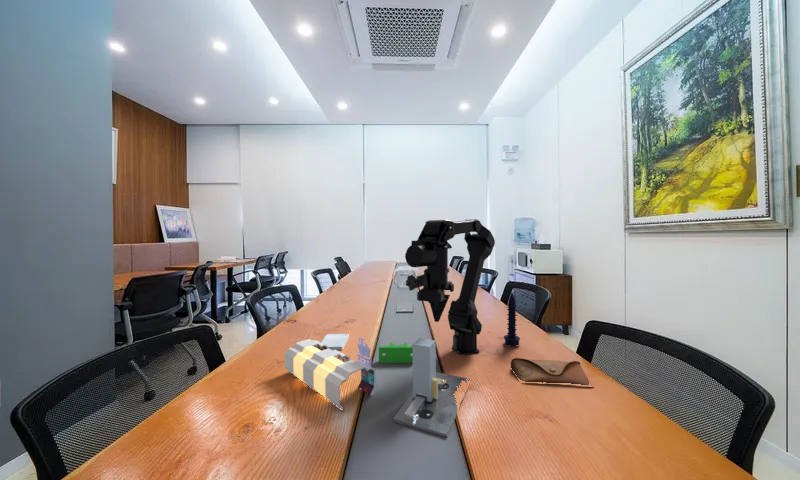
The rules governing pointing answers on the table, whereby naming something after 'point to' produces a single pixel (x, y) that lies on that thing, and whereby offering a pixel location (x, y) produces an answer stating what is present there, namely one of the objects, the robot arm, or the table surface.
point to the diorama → (329, 368)
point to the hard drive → (335, 341)
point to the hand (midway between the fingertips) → (436, 321)
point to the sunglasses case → (549, 371)
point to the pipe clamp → (395, 353)
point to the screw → (512, 323)
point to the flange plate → (432, 408)
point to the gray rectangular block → (424, 369)
